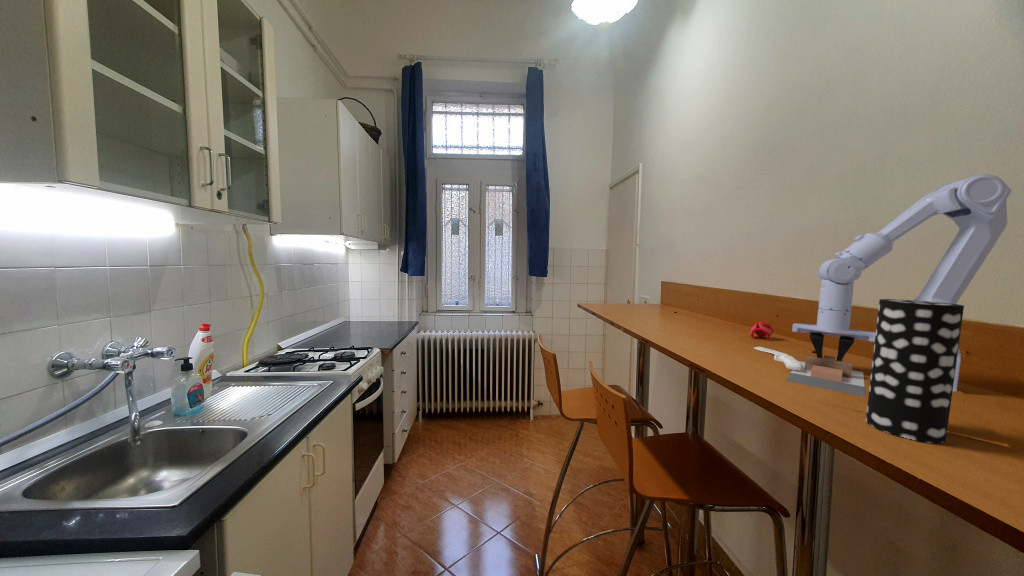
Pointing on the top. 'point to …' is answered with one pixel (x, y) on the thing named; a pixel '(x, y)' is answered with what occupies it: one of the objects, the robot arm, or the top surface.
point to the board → (830, 381)
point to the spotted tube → (914, 368)
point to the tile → (826, 373)
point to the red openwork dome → (761, 330)
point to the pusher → (829, 364)
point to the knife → (783, 358)
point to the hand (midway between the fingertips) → (828, 366)
